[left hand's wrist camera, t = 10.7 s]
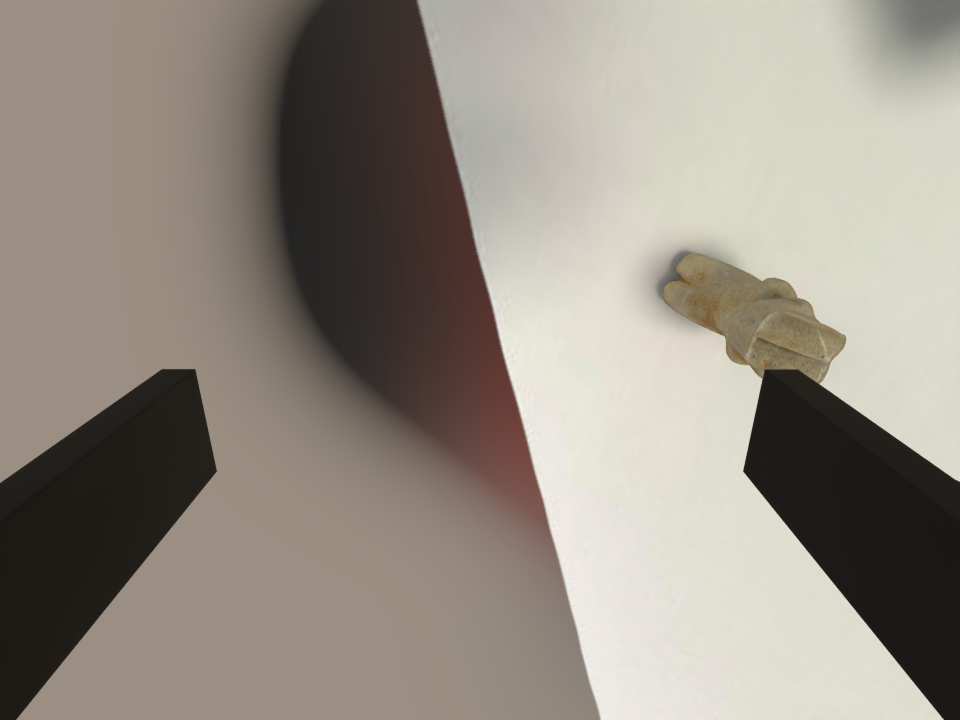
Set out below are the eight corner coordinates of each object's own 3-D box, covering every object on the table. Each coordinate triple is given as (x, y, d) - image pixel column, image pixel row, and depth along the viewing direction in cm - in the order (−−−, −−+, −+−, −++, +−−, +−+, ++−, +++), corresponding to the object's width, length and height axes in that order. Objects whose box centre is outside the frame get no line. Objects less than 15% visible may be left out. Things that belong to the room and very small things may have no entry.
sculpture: (687, 235, 41) (793, 281, 27) (765, 274, 42) (904, 337, 29) (647, 302, 43) (727, 376, 29) (723, 337, 44) (833, 425, 31)
